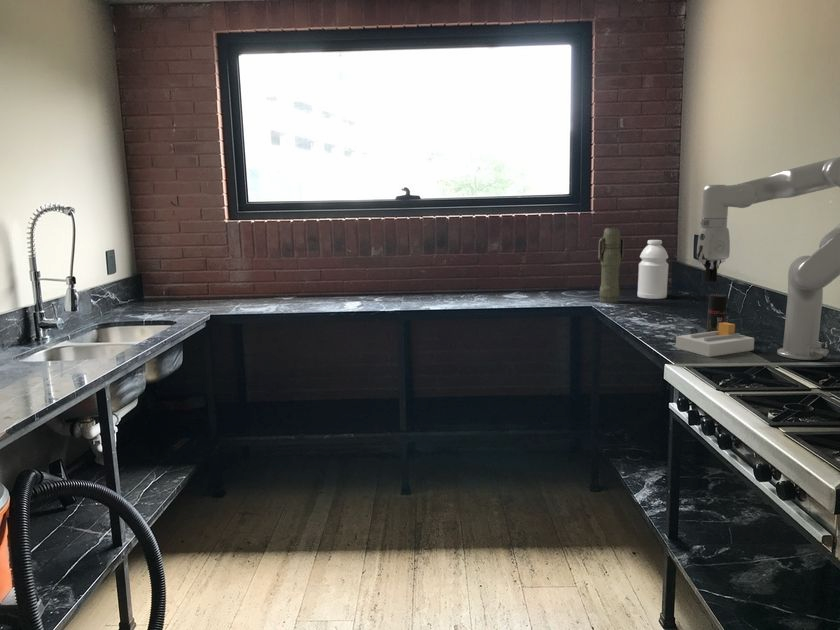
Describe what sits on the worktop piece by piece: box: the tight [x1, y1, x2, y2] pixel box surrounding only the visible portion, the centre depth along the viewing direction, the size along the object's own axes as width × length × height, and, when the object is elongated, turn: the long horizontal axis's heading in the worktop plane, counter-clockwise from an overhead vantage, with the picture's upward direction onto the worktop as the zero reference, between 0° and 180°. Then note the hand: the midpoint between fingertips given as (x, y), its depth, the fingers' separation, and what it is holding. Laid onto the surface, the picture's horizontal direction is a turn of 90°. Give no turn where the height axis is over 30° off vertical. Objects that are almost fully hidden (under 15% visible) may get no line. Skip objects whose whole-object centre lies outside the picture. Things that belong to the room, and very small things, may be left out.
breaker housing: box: [675, 331, 755, 358], centre depth 224 cm, size 14×20×5 cm
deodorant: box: [706, 293, 728, 332], centre depth 242 cm, size 6×6×15 cm
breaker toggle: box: [718, 321, 736, 335], centre depth 226 cm, size 4×3×4 cm
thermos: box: [597, 226, 625, 304], centre depth 319 cm, size 9×12×35 cm
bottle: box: [636, 239, 669, 300], centre depth 332 cm, size 14×14×28 cm
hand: (710, 281), depth 219 cm, fingers closed
